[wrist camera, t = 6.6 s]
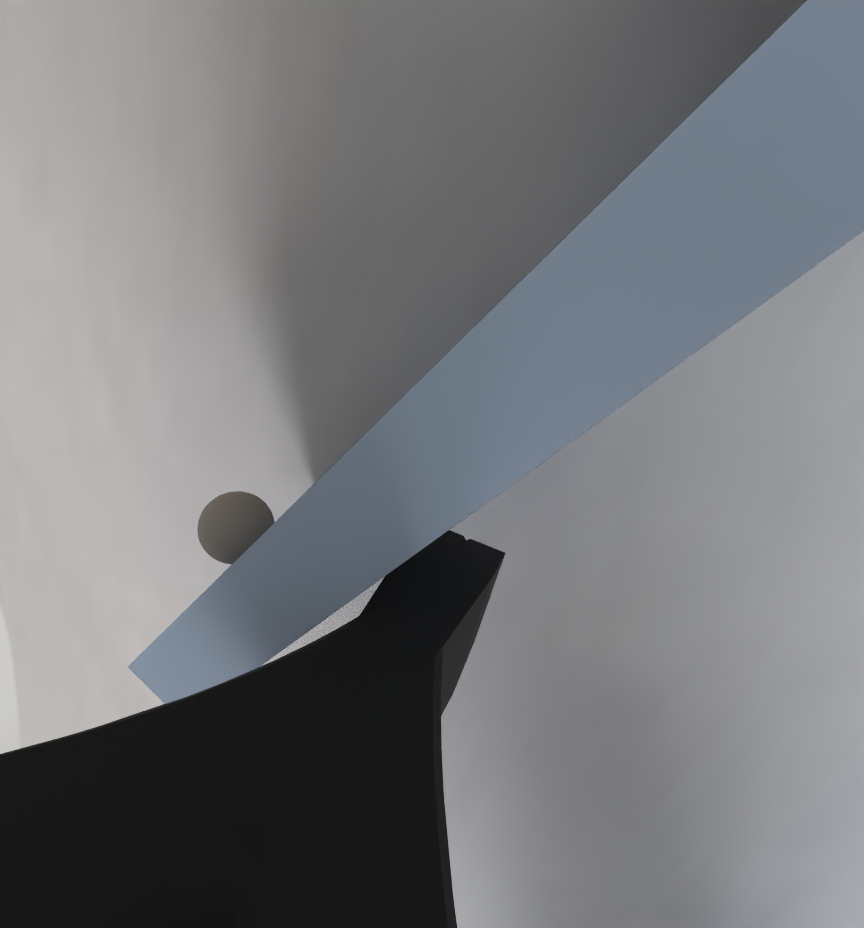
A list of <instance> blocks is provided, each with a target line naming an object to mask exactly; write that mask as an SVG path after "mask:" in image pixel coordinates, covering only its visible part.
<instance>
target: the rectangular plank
mask: <svg viewBox="0 0 864 928" xmlns="http://www.w3.org/2000/svg"><path fill="white" fill-rule="evenodd" d="M863 231H864V0H807V1H806V2H805V3H804V4H803V5H802V6H801V7H800V8H799V9H797V10H796V11H795V12H794V13H793V14H792V15H791V16H790V17H789V18H788V19H787V20H786V21H785V22H784V23H783V24H782V25H781V26H780V27H779V28H778V29H777V30H776V31H775V32H774V33H773V34H772V35H771V36H770V37H769V38H768V39H767V40H766V41H765V42H764V43H763V44H762V45H761V46H760V47H759V48H758V49H757V50H756V51H755V52H754V53H753V54H752V55H751V56H750V57H749V58H748V59H747V60H746V61H745V62H744V63H742V64H741V65H740V66H739V67H738V68H737V69H736V70H735V71H734V72H733V73H732V74H731V75H730V76H729V77H728V78H727V79H726V80H725V81H724V82H723V83H722V84H721V85H720V86H719V87H718V88H717V89H716V90H715V91H714V92H713V93H712V94H711V95H710V96H709V97H708V98H707V99H706V100H705V101H704V102H703V103H702V104H701V105H700V106H699V107H698V108H697V109H696V110H695V111H694V112H693V113H692V114H691V115H690V116H688V117H687V118H686V119H685V120H684V121H683V122H682V123H681V124H680V125H679V126H678V127H677V128H676V129H675V130H674V131H673V132H672V133H671V134H670V135H669V136H668V137H667V138H666V139H665V140H664V141H663V142H662V143H661V144H660V145H659V146H658V147H657V148H656V149H655V150H654V151H653V152H652V153H651V154H650V155H649V156H648V157H647V158H646V159H645V160H644V161H643V162H642V163H641V164H640V165H639V166H638V167H637V168H636V169H634V170H633V171H632V172H631V173H630V174H629V175H628V176H627V177H626V178H625V179H624V180H623V181H622V182H621V183H620V184H619V185H618V186H617V187H616V188H615V189H614V190H613V191H612V192H611V193H610V194H609V195H608V196H607V197H606V198H605V199H604V200H603V201H602V202H601V203H600V204H599V205H598V206H597V207H596V208H595V209H594V210H593V211H592V212H591V213H590V214H589V215H588V216H587V217H586V218H585V219H584V220H583V221H582V222H581V223H579V224H578V225H577V226H576V227H575V228H574V229H573V230H572V231H571V232H570V233H569V234H568V235H567V236H566V237H565V238H564V239H563V240H562V241H561V242H560V243H559V244H558V245H557V246H556V247H555V248H554V249H553V250H552V251H551V252H550V253H549V254H548V255H547V256H546V257H545V258H544V259H543V260H542V261H541V262H540V263H539V264H538V265H537V266H536V267H535V268H534V269H533V270H532V271H531V272H530V273H529V274H528V275H527V276H525V277H524V278H523V279H522V280H521V281H520V282H519V283H518V284H517V285H516V286H515V287H514V288H513V289H512V290H511V291H510V292H509V293H508V294H507V295H506V296H505V297H504V298H503V299H502V300H501V301H500V302H499V303H498V304H497V305H496V306H495V307H494V308H493V309H492V310H491V311H490V312H489V313H488V314H487V315H486V316H485V317H484V318H483V319H482V320H481V321H480V322H479V323H478V324H477V325H476V326H475V327H474V328H473V329H471V330H470V331H469V332H468V333H467V334H466V335H465V336H464V337H463V338H462V339H461V340H460V341H459V342H458V343H457V344H456V345H455V346H454V347H453V348H452V349H451V350H450V351H449V352H448V353H447V354H446V355H445V356H444V357H443V358H442V359H441V360H440V361H439V362H438V363H437V364H436V365H435V366H434V367H433V368H432V369H431V370H430V371H429V372H428V373H427V374H426V375H425V376H424V377H423V378H422V379H421V380H420V381H419V382H417V383H416V384H415V385H414V386H413V387H412V388H411V389H410V390H409V391H408V392H407V393H406V394H405V395H404V396H403V397H402V398H401V399H400V400H399V401H398V402H397V403H396V404H395V405H394V406H393V407H392V408H391V409H390V410H389V411H388V412H387V413H386V414H385V415H384V416H383V417H382V418H381V419H380V420H379V421H378V422H377V423H376V424H375V425H374V426H373V427H372V428H371V429H370V430H369V431H368V432H367V433H366V434H365V435H364V436H362V437H361V438H360V439H359V440H358V441H357V442H356V443H355V444H354V445H353V446H352V447H351V448H350V449H349V450H348V451H347V452H346V453H345V454H344V455H343V456H342V457H341V458H340V459H339V460H338V461H337V462H336V463H335V464H334V465H333V466H332V467H331V468H330V469H329V470H328V471H327V472H326V473H325V474H324V475H323V476H322V477H321V478H320V479H319V480H318V481H317V482H316V483H315V484H314V485H313V486H312V487H311V488H310V489H308V490H307V491H306V492H305V493H304V494H303V495H302V496H301V497H300V498H299V499H298V500H297V501H296V502H295V503H294V504H293V505H292V506H291V507H290V508H289V509H288V510H287V511H286V512H285V513H284V514H283V515H282V516H281V517H280V518H279V519H278V520H277V521H276V522H275V523H274V518H273V515H272V512H271V510H270V509H269V507H268V506H267V504H266V503H265V502H264V501H263V500H261V499H260V498H259V497H257V496H255V495H253V494H250V493H247V492H229V493H225V494H222V495H220V496H218V497H216V498H215V499H213V500H212V501H211V502H210V503H209V504H208V505H207V506H206V507H205V509H204V510H203V512H202V513H201V516H200V518H199V522H198V537H199V540H200V543H201V545H202V547H203V548H204V550H205V551H206V552H207V553H208V554H209V555H210V556H211V557H212V558H214V559H216V560H218V561H220V562H223V563H227V564H232V565H231V566H230V567H229V568H228V569H227V570H226V571H225V572H224V573H223V574H222V575H221V576H220V577H219V578H218V579H217V580H216V581H215V582H214V583H213V584H212V585H211V586H210V587H209V588H208V589H207V590H206V591H205V592H204V593H203V594H202V595H200V596H199V597H198V598H197V599H196V600H195V601H194V602H193V603H192V604H191V605H190V606H189V607H188V608H187V609H186V610H185V611H184V612H183V613H182V614H181V615H180V616H179V617H178V618H177V619H176V620H175V621H174V622H173V623H172V624H171V625H170V626H169V627H168V628H167V629H166V630H165V631H164V632H163V633H162V634H161V635H160V636H159V637H158V638H157V639H156V640H155V641H154V642H153V643H152V644H151V645H150V646H149V647H148V648H147V649H145V650H144V651H143V652H142V653H141V654H140V655H139V656H138V657H137V658H136V659H135V660H134V661H133V662H132V663H131V664H130V665H129V666H128V668H129V669H130V670H131V671H132V672H133V673H134V674H135V675H136V676H137V677H138V678H139V679H140V680H141V681H142V682H143V683H144V684H145V685H146V686H147V687H148V688H149V689H150V690H151V691H152V692H153V693H154V694H155V695H156V696H157V697H158V698H159V699H160V700H161V701H162V702H163V703H165V704H167V703H169V702H172V701H175V700H178V699H181V698H184V697H187V696H190V695H192V694H195V693H198V692H200V691H203V690H205V689H208V688H211V687H213V686H216V685H218V684H221V683H223V682H226V681H228V680H230V679H233V678H235V677H237V676H240V675H242V674H244V673H247V672H249V671H251V670H254V669H256V668H258V667H260V666H261V665H262V664H264V663H265V662H267V661H268V660H269V659H271V658H272V657H273V656H275V655H276V654H278V653H279V652H280V651H282V650H283V649H285V648H286V647H287V646H289V645H290V644H291V643H293V642H294V641H296V640H297V639H298V638H300V637H301V636H303V635H304V634H305V633H307V632H308V631H310V630H311V629H312V628H314V627H315V626H316V625H318V624H319V623H321V622H322V621H323V620H325V619H326V618H328V617H329V616H330V615H332V614H333V613H334V612H336V611H337V610H339V609H340V608H341V607H343V606H344V605H346V604H347V603H348V602H350V601H351V600H352V599H354V598H355V597H357V596H358V595H359V594H361V593H362V592H364V591H365V590H366V589H368V588H369V587H370V586H372V585H373V584H375V583H376V582H377V581H379V580H380V579H382V578H383V577H384V576H386V575H387V574H389V573H390V572H391V571H393V570H394V569H395V568H397V567H398V566H400V565H401V564H402V563H404V562H405V561H407V560H408V559H409V558H411V557H412V556H413V555H415V554H416V553H418V552H419V551H420V550H422V549H423V548H425V547H426V546H427V545H429V544H430V543H431V542H433V541H434V540H436V539H437V538H438V537H440V536H441V535H443V534H444V533H445V532H447V531H448V530H449V529H451V528H452V527H454V526H455V525H456V524H458V523H459V522H461V521H462V520H463V519H465V518H466V517H468V516H469V515H470V514H472V513H473V512H474V511H476V510H477V509H479V508H480V507H481V506H483V505H484V504H486V503H487V502H488V501H490V500H491V499H492V498H494V497H495V496H497V495H498V494H499V493H501V492H502V491H504V490H505V489H506V488H508V487H509V486H510V485H512V484H513V483H515V482H516V481H517V480H519V479H520V478H522V477H523V476H524V475H526V474H527V473H528V472H530V471H531V470H533V469H534V468H535V467H537V466H538V465H540V464H541V463H542V462H544V461H545V460H547V459H548V458H549V457H551V456H552V455H553V454H555V453H556V452H558V451H559V450H560V449H562V448H563V447H565V446H566V445H567V444H569V443H570V442H571V441H573V440H574V439H576V438H577V437H578V436H580V435H581V434H583V433H584V432H585V431H587V430H588V429H589V428H591V427H592V426H594V425H595V424H596V423H598V422H599V421H601V420H602V419H603V418H605V417H606V416H607V415H609V414H610V413H612V412H613V411H614V410H616V409H617V408H619V407H620V406H621V405H623V404H624V403H626V402H627V401H628V400H630V399H631V398H632V397H634V396H635V395H637V394H638V393H639V392H641V391H642V390H644V389H645V388H646V387H648V386H649V385H650V384H652V383H653V382H655V381H656V380H657V379H659V378H660V377H662V376H663V375H664V374H666V373H667V372H668V371H670V370H671V369H673V368H674V367H675V366H677V365H678V364H680V363H681V362H682V361H684V360H685V359H687V358H688V357H689V356H691V355H692V354H693V353H695V352H696V351H698V350H699V349H700V348H702V347H703V346H705V345H706V344H707V343H709V342H710V341H711V340H713V339H714V338H716V337H717V336H718V335H720V334H721V333H723V332H724V331H725V330H727V329H728V328H729V327H731V326H732V325H734V324H735V323H736V322H738V321H739V320H741V319H742V318H743V317H745V316H746V315H747V314H749V313H750V312H752V311H753V310H754V309H756V308H757V307H759V306H760V305H761V304H763V303H764V302H766V301H767V300H768V299H770V298H771V297H772V296H774V295H775V294H777V293H778V292H779V291H781V290H782V289H784V288H785V287H786V286H788V285H789V284H790V283H792V282H793V281H795V280H796V279H797V278H799V277H800V276H802V275H803V274H804V273H806V272H807V271H808V270H810V269H811V268H813V267H814V266H815V265H817V264H818V263H820V262H821V261H822V260H824V259H825V258H826V257H828V256H829V255H831V254H832V253H833V252H835V251H836V250H838V249H839V248H840V247H842V246H843V245H845V244H846V243H847V242H849V241H850V240H851V239H853V238H854V237H856V236H857V235H858V234H860V233H861V232H863Z"/></svg>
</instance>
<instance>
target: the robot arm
mask: <svg viewBox="0 0 864 928" xmlns="http://www.w3.org/2000/svg"><path fill="white" fill-rule="evenodd" d="M504 555H505V553H504V552H502V551H499V550H497V549H494V548H492V547H489V546H487V545H484V544H482V543H479V542H477V541H474V540H472V539H469V540H465V538H464V536H462V535H460V534H457V533H455V532H452V531H450V530H448V531H447V532H445V533H444V534H443V535H441V536H440V537H438V538H437V539H436V540H434V541H433V542H431V543H430V544H429V545H427V546H426V547H425V548H423V549H422V550H420V551H419V552H418V553H416V554H415V555H413V556H412V557H411V558H409V559H408V560H407V561H405V562H404V563H402V564H401V565H400V566H398V567H397V568H395V569H394V570H393V571H391V572H390V573H389V574H387V575H386V576H385V577H384V579H383V580H382V582H381V584H380V585H379V587H378V588H377V590H376V591H375V593H374V594H373V596H372V597H371V599H370V600H369V602H368V603H367V605H366V606H365V608H364V610H363V611H362V613H361V614H360V616H358V617H357V618H355V619H353V620H352V621H350V622H348V623H347V624H345V625H343V626H342V627H340V628H338V629H336V630H334V631H332V632H331V633H329V634H327V635H325V636H323V637H321V638H319V639H317V640H316V641H314V642H312V643H310V644H308V645H306V646H304V647H302V648H300V649H298V650H295V651H293V652H291V653H289V654H287V655H285V656H283V657H281V658H279V659H277V660H274V661H272V662H270V663H268V664H265V665H263V666H261V667H258V668H256V669H254V670H251V671H249V672H247V673H244V674H242V675H240V676H237V677H235V678H233V679H230V680H228V681H226V682H223V683H221V684H218V685H216V686H213V687H211V688H208V689H205V690H203V691H200V692H198V693H195V694H192V695H190V696H187V697H184V698H181V699H178V700H175V701H172V702H169V703H167V704H164V705H161V706H158V707H155V708H152V709H149V710H146V711H143V712H140V713H137V714H134V715H131V716H128V717H125V718H122V719H119V720H116V721H113V722H110V723H108V724H105V725H102V726H99V727H95V728H92V729H89V730H85V731H82V732H79V733H76V734H72V735H69V736H65V737H62V738H58V739H54V740H51V741H47V742H43V743H40V744H36V745H32V746H29V747H25V748H21V749H18V750H14V751H10V752H6V753H3V754H0V928H457V923H456V915H455V907H454V900H453V892H452V881H451V870H450V859H449V848H448V837H447V826H446V815H445V805H444V792H443V771H442V750H441V715H442V713H443V711H444V709H445V708H446V706H447V704H448V702H449V700H450V698H451V696H452V694H453V692H454V690H455V687H456V685H457V682H458V680H459V677H460V675H461V673H462V670H463V668H464V665H465V663H466V660H467V658H468V656H469V653H470V651H471V648H472V646H473V643H474V641H475V638H476V635H477V632H478V629H479V627H480V624H481V621H482V618H483V615H484V612H485V609H486V607H487V604H488V601H489V598H490V595H491V592H492V589H493V587H494V584H495V581H496V578H497V575H498V572H499V570H500V567H501V564H502V561H503V558H504Z"/></svg>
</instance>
